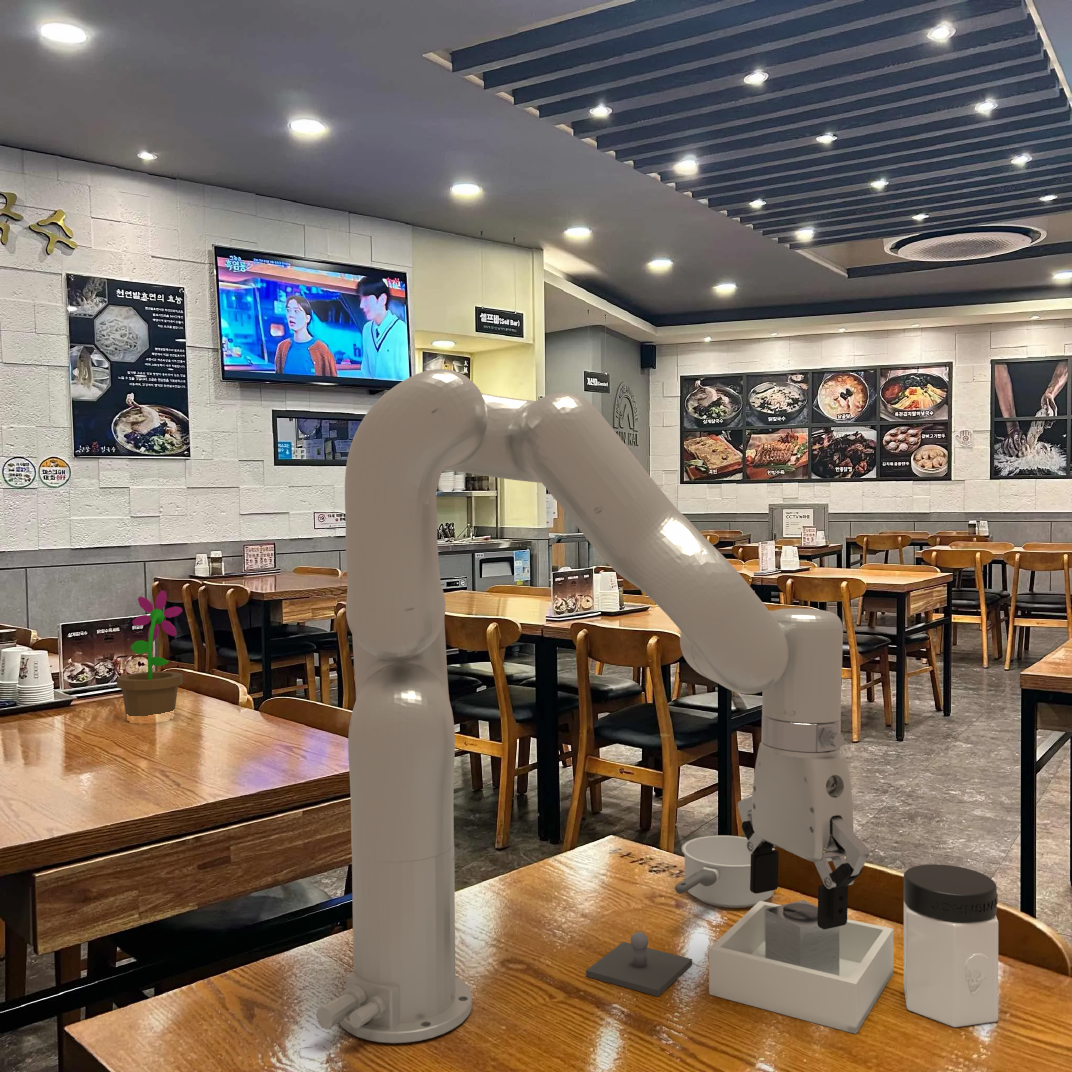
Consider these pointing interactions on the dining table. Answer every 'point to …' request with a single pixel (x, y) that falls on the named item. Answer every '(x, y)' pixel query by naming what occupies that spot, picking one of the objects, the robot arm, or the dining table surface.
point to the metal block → (801, 938)
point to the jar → (951, 944)
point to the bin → (803, 973)
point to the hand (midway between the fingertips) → (796, 907)
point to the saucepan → (719, 871)
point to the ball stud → (639, 966)
